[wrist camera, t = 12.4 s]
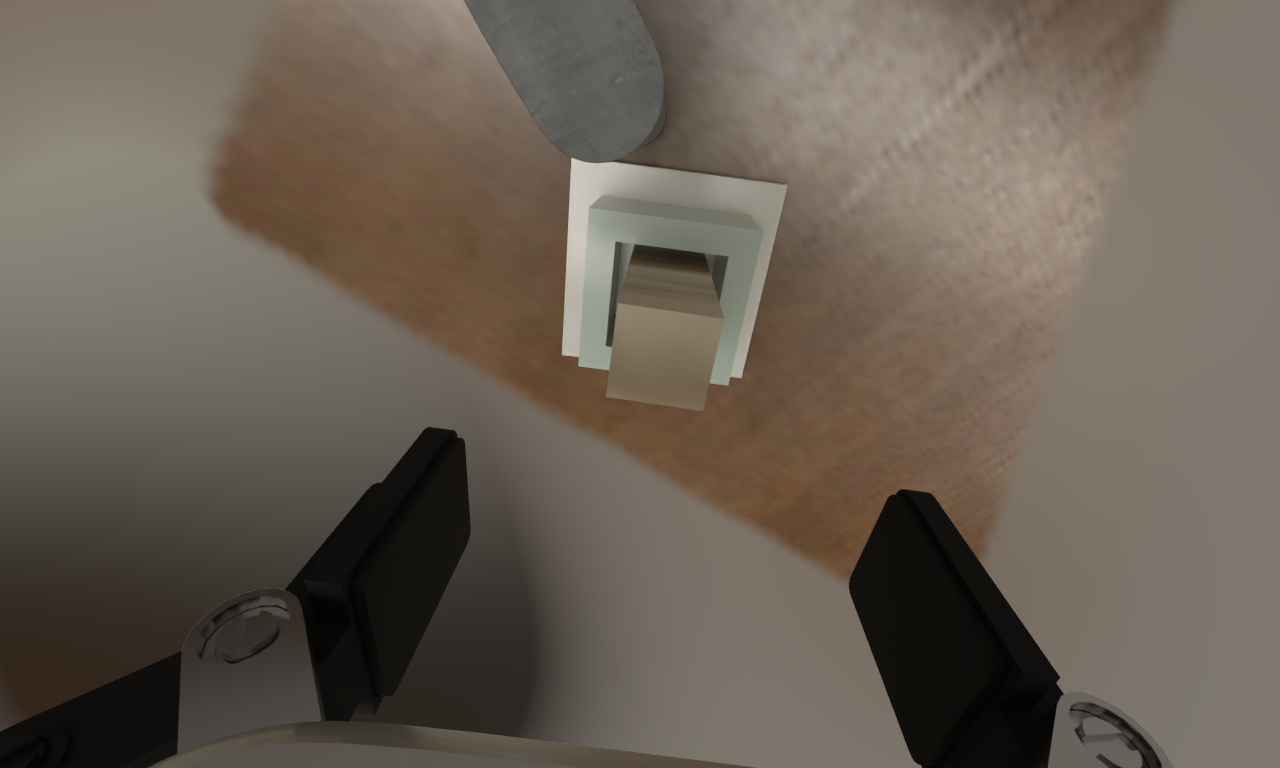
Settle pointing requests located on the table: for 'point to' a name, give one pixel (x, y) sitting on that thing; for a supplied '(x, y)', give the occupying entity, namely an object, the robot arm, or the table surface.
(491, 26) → the hip flask
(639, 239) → the socket holder
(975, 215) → the table surface
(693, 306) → the beech peg
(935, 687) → the robot arm
